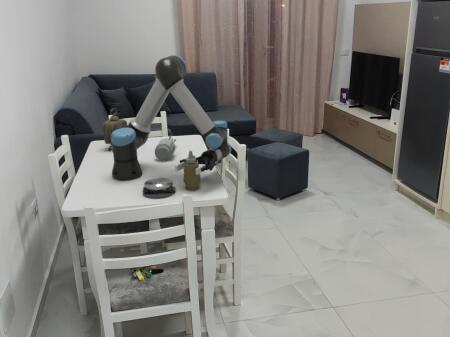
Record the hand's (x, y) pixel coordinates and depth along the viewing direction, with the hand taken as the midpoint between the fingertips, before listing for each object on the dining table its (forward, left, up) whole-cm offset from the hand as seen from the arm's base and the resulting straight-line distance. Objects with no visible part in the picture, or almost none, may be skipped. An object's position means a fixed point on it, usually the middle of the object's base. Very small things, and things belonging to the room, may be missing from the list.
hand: (186, 170), depth 195 cm
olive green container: (-47, +74, -10) cm, 88 cm away
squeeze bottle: (+2, +4, -10) cm, 11 cm away
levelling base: (-13, 0, -10) cm, 16 cm away
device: (-15, +60, -10) cm, 62 cm away
